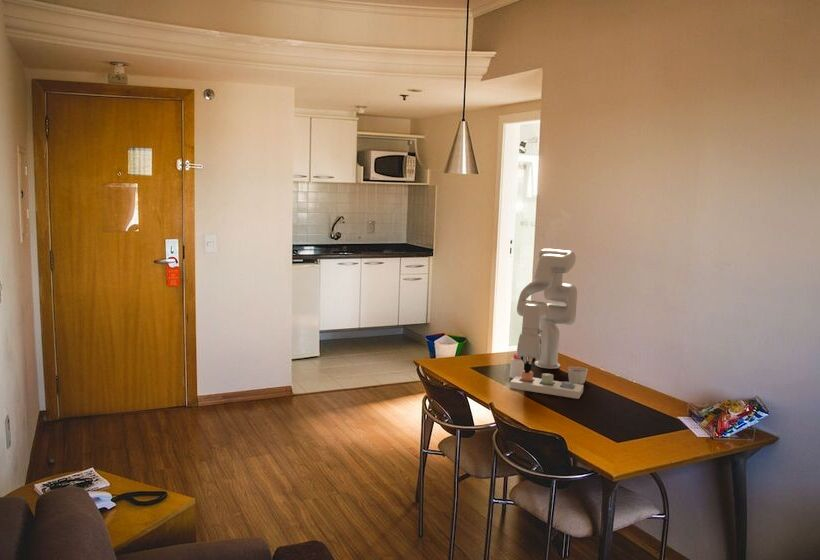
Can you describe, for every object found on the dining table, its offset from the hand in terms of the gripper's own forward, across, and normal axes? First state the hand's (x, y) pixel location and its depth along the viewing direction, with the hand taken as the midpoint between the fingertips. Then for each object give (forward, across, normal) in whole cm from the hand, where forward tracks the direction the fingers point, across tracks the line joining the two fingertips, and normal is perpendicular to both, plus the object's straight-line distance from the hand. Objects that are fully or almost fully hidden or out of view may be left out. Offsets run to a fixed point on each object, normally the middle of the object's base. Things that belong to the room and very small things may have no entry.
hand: (527, 371), depth 303 cm
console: (+7, -9, -1) cm, 11 cm away
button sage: (+4, -9, -1) cm, 10 cm away
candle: (+7, -19, -21) cm, 29 cm away
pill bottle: (+7, +7, -14) cm, 17 cm away
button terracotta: (+4, 0, -1) cm, 4 cm away
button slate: (+6, -18, -1) cm, 19 cm away
